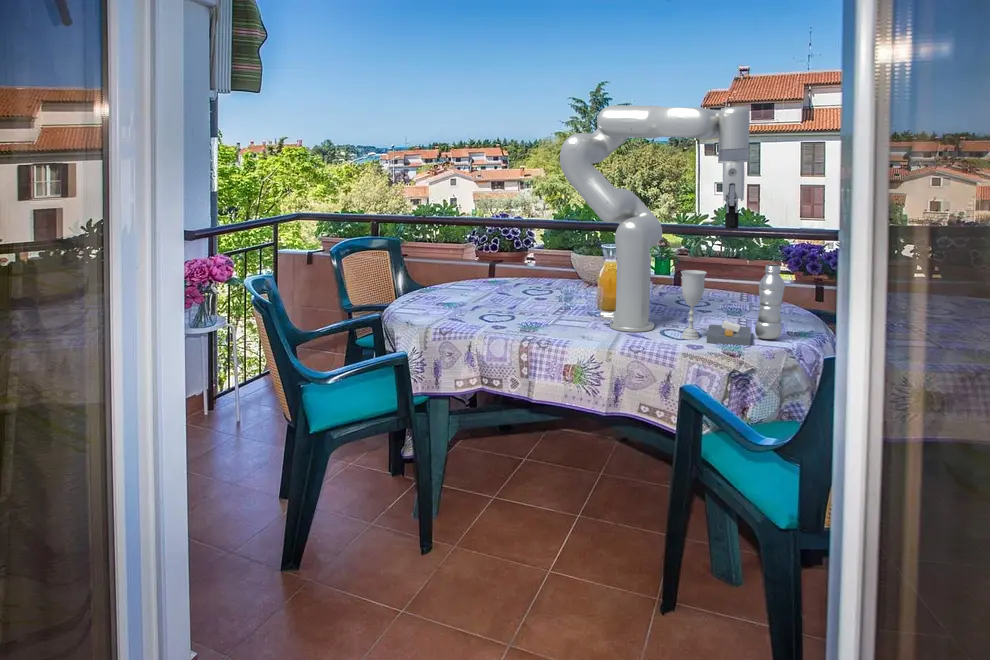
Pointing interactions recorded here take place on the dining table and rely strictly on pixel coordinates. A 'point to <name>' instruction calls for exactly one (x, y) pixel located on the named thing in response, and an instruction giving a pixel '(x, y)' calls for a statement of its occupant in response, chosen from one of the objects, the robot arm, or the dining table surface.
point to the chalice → (692, 297)
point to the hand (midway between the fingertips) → (731, 228)
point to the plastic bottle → (770, 303)
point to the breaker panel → (728, 335)
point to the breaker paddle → (730, 326)
